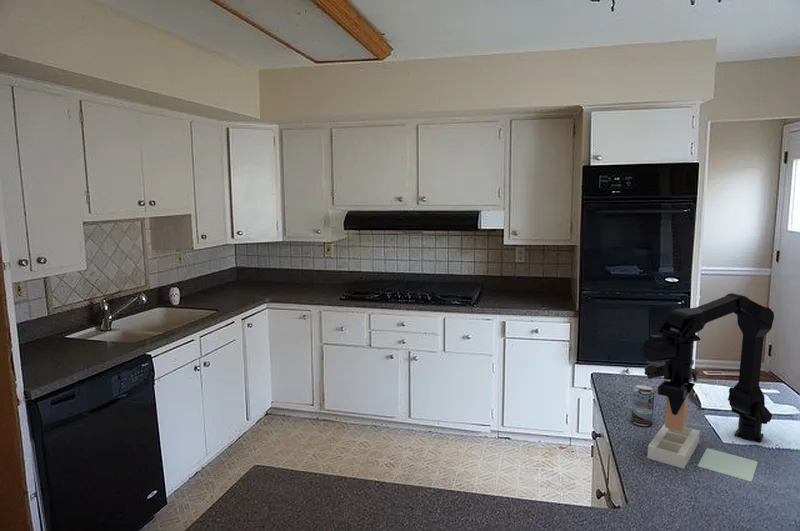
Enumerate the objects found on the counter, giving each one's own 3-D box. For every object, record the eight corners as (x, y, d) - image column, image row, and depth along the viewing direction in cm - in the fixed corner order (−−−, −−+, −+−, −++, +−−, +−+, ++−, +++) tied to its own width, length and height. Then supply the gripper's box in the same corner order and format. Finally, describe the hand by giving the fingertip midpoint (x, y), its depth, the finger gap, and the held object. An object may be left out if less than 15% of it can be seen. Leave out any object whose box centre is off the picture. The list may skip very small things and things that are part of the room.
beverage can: (630, 427, 165) (632, 390, 163) (630, 417, 172) (632, 381, 170) (653, 430, 162) (655, 392, 161) (652, 420, 169) (654, 384, 167)
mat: (706, 449, 150) (707, 447, 150) (757, 463, 143) (758, 461, 143) (697, 468, 141) (697, 465, 141) (751, 483, 134) (751, 481, 134)
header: (664, 434, 160) (665, 422, 159) (698, 443, 154) (699, 430, 153) (647, 459, 146) (648, 445, 145) (683, 470, 140) (684, 456, 140)
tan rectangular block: (668, 421, 152) (670, 388, 150) (686, 426, 149) (689, 392, 147) (664, 427, 148) (666, 393, 147) (682, 432, 145) (685, 397, 144)
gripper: (657, 343, 158) (654, 393, 160) (638, 360, 143) (635, 415, 146) (700, 350, 151) (696, 403, 153) (684, 369, 136) (680, 426, 139)
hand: (676, 411), depth 148 cm, fingers closed on tan rectangular block, 4 cm apart
